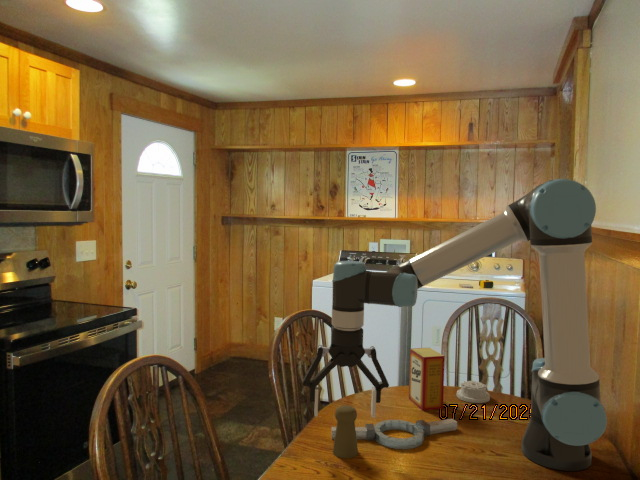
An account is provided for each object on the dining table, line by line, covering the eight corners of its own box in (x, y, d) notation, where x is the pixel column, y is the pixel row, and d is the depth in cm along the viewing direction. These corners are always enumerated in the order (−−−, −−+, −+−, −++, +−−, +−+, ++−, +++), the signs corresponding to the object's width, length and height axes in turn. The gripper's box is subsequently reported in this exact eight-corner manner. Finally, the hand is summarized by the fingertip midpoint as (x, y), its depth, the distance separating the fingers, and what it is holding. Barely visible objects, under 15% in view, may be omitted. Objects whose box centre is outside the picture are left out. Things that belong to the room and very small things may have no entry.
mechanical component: (457, 402, 155) (491, 405, 153) (458, 388, 155) (492, 391, 153) (455, 391, 165) (487, 393, 163) (456, 377, 165) (488, 380, 163)
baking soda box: (408, 398, 157) (410, 347, 156) (428, 397, 159) (429, 346, 158) (422, 410, 148) (424, 356, 147) (443, 408, 150) (444, 354, 149)
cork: (327, 453, 121) (328, 408, 121) (341, 444, 126) (342, 400, 126) (349, 460, 118) (350, 414, 117) (362, 450, 123) (363, 406, 122)
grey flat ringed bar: (454, 426, 137) (455, 416, 137) (469, 449, 124) (470, 438, 124) (330, 425, 137) (330, 415, 137) (332, 448, 124) (332, 437, 124)
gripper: (397, 324, 124) (394, 409, 126) (294, 321, 124) (292, 407, 125) (403, 332, 117) (399, 422, 118) (293, 329, 116) (291, 420, 118)
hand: (344, 415), depth 122 cm, fingers open, 13 cm apart
